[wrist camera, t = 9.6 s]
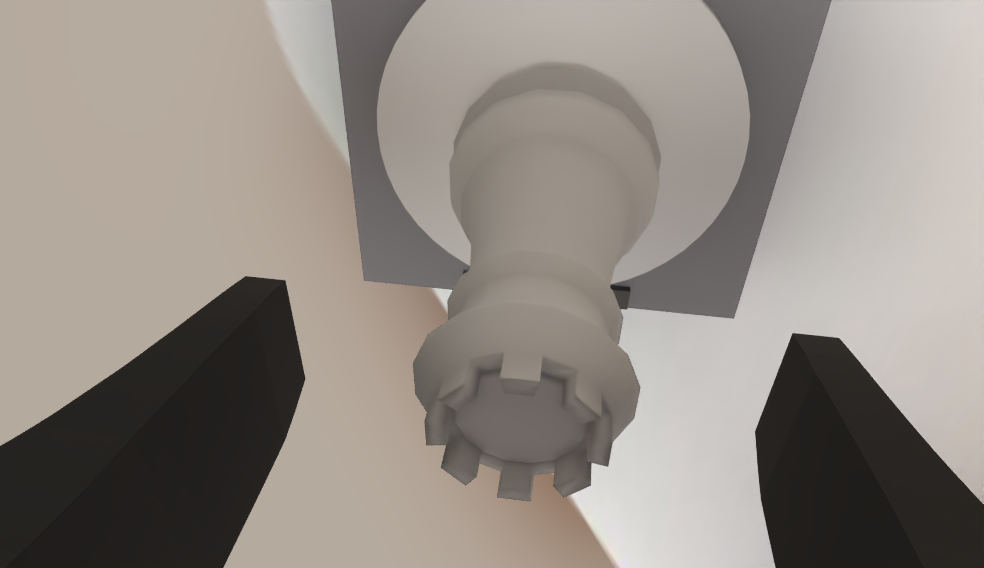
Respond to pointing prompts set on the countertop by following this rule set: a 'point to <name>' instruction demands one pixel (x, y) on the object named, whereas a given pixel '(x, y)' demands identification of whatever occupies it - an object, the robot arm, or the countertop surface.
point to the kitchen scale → (612, 57)
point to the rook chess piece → (540, 281)
